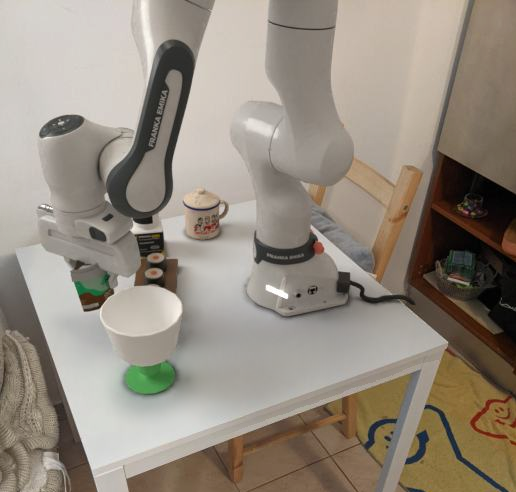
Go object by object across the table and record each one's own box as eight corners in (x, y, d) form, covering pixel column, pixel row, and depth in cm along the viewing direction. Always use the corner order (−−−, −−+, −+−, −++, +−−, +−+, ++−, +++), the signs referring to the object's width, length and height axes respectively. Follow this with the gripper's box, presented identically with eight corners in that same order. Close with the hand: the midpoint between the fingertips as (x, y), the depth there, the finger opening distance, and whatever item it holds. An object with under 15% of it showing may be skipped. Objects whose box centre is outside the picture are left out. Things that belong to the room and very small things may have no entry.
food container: (115, 315, 103) (104, 271, 96) (82, 317, 103) (69, 272, 96) (124, 277, 112) (115, 234, 106) (93, 278, 112) (82, 235, 105)
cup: (196, 394, 99) (192, 326, 89) (118, 412, 95) (105, 343, 85) (178, 345, 109) (173, 279, 98) (107, 359, 105) (94, 292, 94)
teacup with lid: (194, 244, 137) (192, 200, 129) (178, 227, 142) (176, 185, 135) (236, 232, 142) (237, 190, 134) (220, 217, 147) (219, 175, 140)
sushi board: (178, 265, 129) (177, 247, 126) (174, 319, 115) (172, 300, 111) (139, 266, 129) (137, 247, 125) (130, 320, 114) (127, 301, 111)
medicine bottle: (135, 259, 131) (129, 214, 123) (133, 243, 136) (127, 199, 128) (165, 256, 132) (161, 211, 124) (162, 241, 137) (158, 196, 129)
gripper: (22, 209, 96) (41, 274, 106) (118, 238, 90) (129, 305, 99) (47, 194, 101) (63, 258, 110) (140, 221, 94) (149, 286, 104)
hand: (95, 280), depth 105 cm, fingers closed on food container, 6 cm apart
